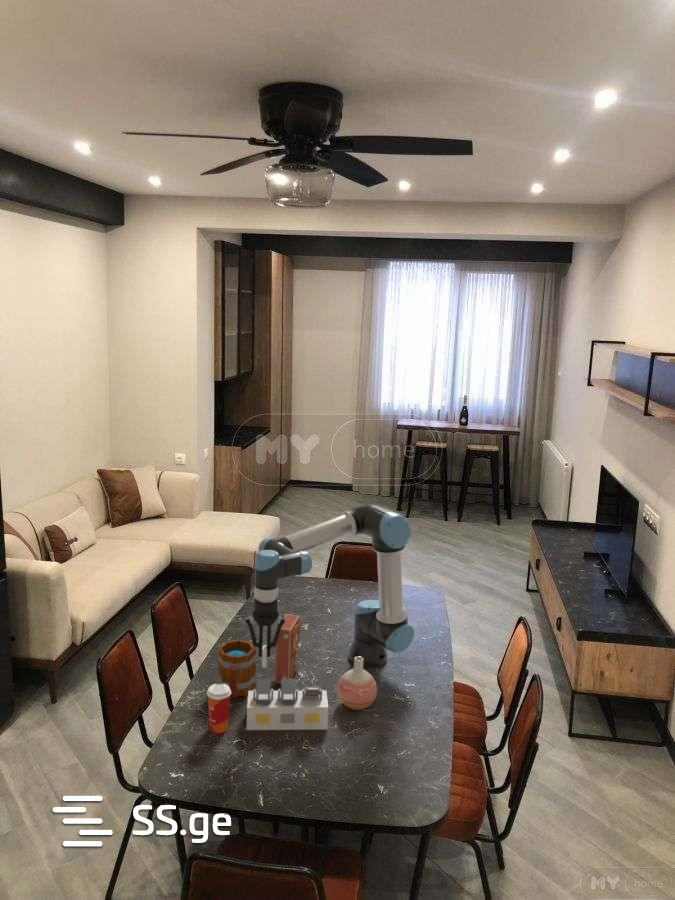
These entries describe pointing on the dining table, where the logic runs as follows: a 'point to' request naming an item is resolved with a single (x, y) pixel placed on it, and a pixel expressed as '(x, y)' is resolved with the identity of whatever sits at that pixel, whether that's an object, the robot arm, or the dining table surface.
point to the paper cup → (218, 707)
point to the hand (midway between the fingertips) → (264, 665)
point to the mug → (237, 666)
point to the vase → (357, 687)
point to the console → (288, 712)
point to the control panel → (287, 649)
